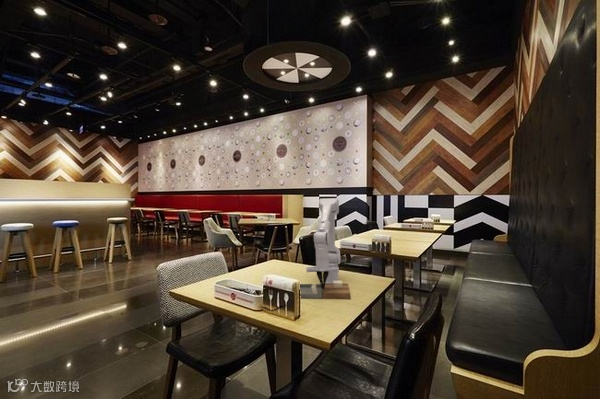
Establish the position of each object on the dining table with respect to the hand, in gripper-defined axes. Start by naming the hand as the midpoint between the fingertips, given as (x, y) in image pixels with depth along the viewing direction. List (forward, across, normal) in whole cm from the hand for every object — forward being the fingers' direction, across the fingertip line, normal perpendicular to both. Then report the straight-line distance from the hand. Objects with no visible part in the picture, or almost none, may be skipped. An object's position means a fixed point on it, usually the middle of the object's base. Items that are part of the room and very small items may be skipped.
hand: (323, 288), depth 120 cm
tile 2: (+1, +7, +6) cm, 9 cm away
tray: (+3, -6, +3) cm, 8 cm away
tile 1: (+1, -3, 0) cm, 3 cm away
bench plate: (+3, +6, +3) cm, 7 cm away
